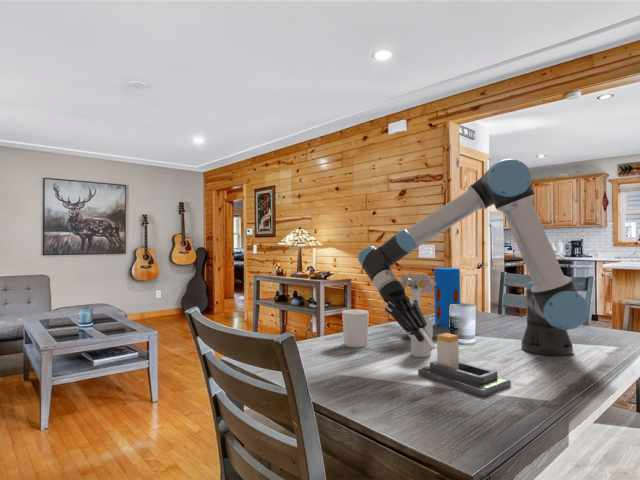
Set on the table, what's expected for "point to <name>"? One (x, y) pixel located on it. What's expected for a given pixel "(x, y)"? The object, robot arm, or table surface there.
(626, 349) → the table surface
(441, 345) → the toggle
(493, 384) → the dark gray tray
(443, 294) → the leaf-print blue block
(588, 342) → the table surface
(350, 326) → the candle holder
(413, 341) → the mug
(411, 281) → the flower vase
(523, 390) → the table surface
